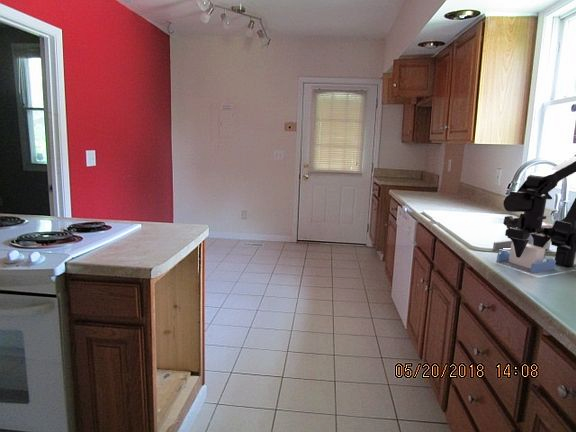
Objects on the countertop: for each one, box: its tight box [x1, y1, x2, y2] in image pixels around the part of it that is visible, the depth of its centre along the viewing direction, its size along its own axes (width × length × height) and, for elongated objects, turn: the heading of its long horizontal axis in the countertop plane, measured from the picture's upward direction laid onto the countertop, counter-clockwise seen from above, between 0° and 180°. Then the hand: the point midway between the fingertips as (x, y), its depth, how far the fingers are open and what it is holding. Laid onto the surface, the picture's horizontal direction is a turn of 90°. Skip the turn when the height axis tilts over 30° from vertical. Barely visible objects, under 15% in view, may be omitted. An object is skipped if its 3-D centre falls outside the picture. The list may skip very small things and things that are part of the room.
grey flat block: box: [492, 239, 547, 258], centre depth 151 cm, size 12×13×3 cm
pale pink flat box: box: [508, 242, 546, 269], centre depth 135 cm, size 4×9×7 cm, turn 26°
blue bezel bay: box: [496, 250, 557, 274], centre depth 136 cm, size 12×13×4 cm
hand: (526, 256), depth 135 cm, fingers open, 9 cm apart
